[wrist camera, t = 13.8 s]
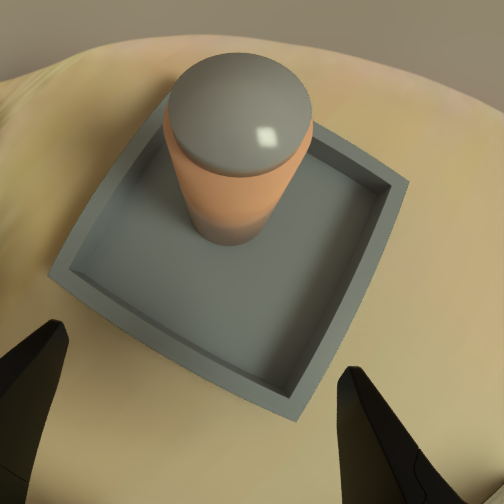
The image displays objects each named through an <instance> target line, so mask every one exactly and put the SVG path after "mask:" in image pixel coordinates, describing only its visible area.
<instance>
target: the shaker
mask: <svg viewBox="0 0 504 504" xmlns="http://www.w3.org/2000/svg"><path fill="white" fill-rule="evenodd" d="M163 130H164V136H165V139H166V143H167V146H168V149H169V152H170V156H171V159H172V162H173V165H174V169H175V172H176V175H177V178H178V181H179V184H180V187H181V191H182V194H183V197H184V200H185V203H186V206H187V209H188V212H189V215H190V218H191V221H192V223H193V225H194V227H195V229H196V230H197V231H198V233H199V234H200V235H201V236H203V237H204V238H205V239H207V240H208V241H210V242H212V243H214V244H217V245H222V246H237V245H241V244H244V243H247V242H248V241H250V240H252V239H253V238H255V237H256V236H257V235H258V234H259V233H260V232H261V231H262V229H263V228H264V226H265V224H266V222H267V221H268V219H269V217H270V215H271V214H272V212H273V210H274V208H275V207H276V205H277V203H278V201H279V200H280V198H281V196H282V194H283V193H284V191H285V189H286V187H287V185H288V184H289V182H290V180H291V178H292V177H293V175H294V173H295V171H296V170H297V168H298V166H299V164H300V163H301V161H302V159H303V157H304V156H305V154H306V152H307V150H308V148H309V145H310V143H311V139H312V134H313V120H312V107H311V102H310V98H309V95H308V93H307V90H306V89H305V87H304V85H303V84H302V82H301V81H300V80H299V79H298V78H297V76H296V75H295V74H294V73H292V72H291V71H290V70H289V69H287V68H286V67H285V66H283V65H281V64H280V63H278V62H276V61H274V60H271V59H269V58H266V57H263V56H259V55H255V54H249V53H226V54H220V55H216V56H212V57H209V58H206V59H204V60H202V61H200V62H198V63H196V64H195V65H193V66H192V67H190V68H189V69H188V70H186V71H185V72H184V73H183V74H182V75H181V76H180V77H179V79H178V80H177V81H176V83H175V85H174V86H173V88H172V91H171V93H170V96H169V101H168V103H167V106H166V109H165V112H164V117H163Z"/></svg>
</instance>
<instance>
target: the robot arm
mask: <svg viewBox="0 0 504 504" xmlns="http://www.w3.org/2000/svg"><path fill="white" fill-rule="evenodd" d="M68 344H69V338H68V335H67V332H66V329H65V326H64V324H63V322H61V321H58V320H54V319H51V320H49V321H48V322H46V323H45V324H44V325H42V326H41V327H40V328H38V329H37V330H36V331H34V332H33V333H32V334H31V335H29V336H28V337H27V338H25V339H24V340H23V341H22V342H20V343H19V344H18V345H16V346H15V347H14V348H13V349H11V350H10V351H9V352H8V353H6V354H5V355H4V356H3V357H1V358H0V504H25V501H26V496H27V491H28V486H29V484H28V483H29V481H30V477H31V473H32V469H33V465H34V461H35V457H36V453H37V449H38V446H39V442H40V439H41V435H42V432H43V429H44V425H45V422H46V419H47V416H48V413H49V410H50V407H51V404H52V401H53V398H54V395H55V392H56V389H57V386H58V383H59V379H60V375H61V371H62V367H63V363H64V359H65V355H66V352H67V348H68ZM337 438H338V449H339V461H340V475H341V490H342V504H468V503H466V502H465V501H464V500H462V499H461V498H460V497H459V496H458V494H457V493H456V492H455V491H454V490H453V489H452V488H451V487H450V485H449V484H448V483H447V482H446V481H445V480H444V479H443V478H442V476H441V475H440V474H439V473H438V472H437V471H436V469H435V468H434V467H433V466H432V464H431V463H430V462H429V460H428V459H427V458H426V456H425V455H424V454H423V452H422V451H421V449H418V448H419V447H418V445H417V444H416V442H415V441H414V440H413V438H412V437H411V435H410V434H409V433H408V431H407V430H406V428H405V427H404V426H403V424H402V423H401V422H400V420H399V419H398V417H397V416H396V415H395V413H394V412H393V410H392V409H391V408H390V406H389V405H388V404H387V402H386V401H385V399H384V398H383V397H382V395H381V394H380V393H379V391H378V390H377V388H376V387H375V386H374V384H373V383H372V382H371V380H370V379H369V378H368V376H367V375H366V373H365V372H364V371H363V369H362V368H361V367H358V366H349V367H347V368H346V369H345V371H344V373H343V374H342V376H341V377H340V378H339V380H338V384H337Z"/></svg>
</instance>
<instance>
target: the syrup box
mask: <svg viewBox="0 0 504 504" xmlns="http://www.w3.org/2000/svg"><path fill="white" fill-rule="evenodd" d="M483 504H504V485H502V486H501V487H500V488H499V489H498V490H497V491H496V492H495V493H494V494H493V495H492V496H491V497H490V498H489V499H488V500H486V501H485V502H484V503H483Z"/></svg>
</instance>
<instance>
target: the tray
mask: <svg viewBox="0 0 504 504" xmlns="http://www.w3.org/2000/svg"><path fill="white" fill-rule="evenodd" d="M171 91H172V90H171ZM171 91H170V92H169V93H168V95H167V96H166V97H165V98H164V99H163V100H162V102H161V103H160V104H159V105H158V106H157V108H156V109H155V110H154V111H153V112H152V114H151V115H150V116H149V117H148V119H147V120H146V121H145V122H144V124H143V125H142V126H141V128H140V129H139V130H138V131H137V133H136V134H135V135H134V137H133V138H132V139H131V141H130V142H129V143H128V145H127V146H126V147H125V149H124V150H123V152H122V153H121V154H120V156H119V157H118V159H117V160H116V161H115V163H114V164H113V166H112V167H111V169H110V170H109V172H108V173H107V174H106V176H105V177H104V179H103V180H102V182H101V183H100V185H99V186H98V188H97V190H96V191H95V193H94V194H93V196H92V197H91V199H90V201H89V202H88V204H87V205H86V207H85V209H84V210H83V212H82V214H81V215H80V217H79V219H78V220H77V222H76V224H75V225H74V227H73V229H72V230H71V232H70V234H69V236H68V238H67V239H66V241H65V243H64V245H63V247H62V248H61V250H60V252H59V254H58V256H57V258H56V260H55V262H54V264H53V265H52V267H51V269H50V271H49V273H48V275H47V276H48V277H50V278H51V279H52V280H53V281H55V282H56V283H57V284H59V285H60V286H61V287H62V288H64V289H65V290H66V291H68V292H69V293H70V294H72V295H73V296H74V297H76V298H77V299H78V300H80V301H81V302H83V303H84V304H85V305H87V306H88V307H90V308H91V309H92V310H94V311H95V312H97V313H98V314H99V315H101V316H102V317H104V318H105V319H107V320H108V321H110V322H111V323H113V324H114V325H116V326H117V327H119V328H120V329H122V330H123V331H125V332H126V333H128V334H129V335H131V336H132V337H134V338H136V339H137V340H139V341H140V342H142V343H143V344H145V345H147V346H148V347H150V348H152V349H153V350H155V351H157V352H158V353H160V354H162V355H163V356H165V357H167V358H168V359H170V360H172V361H173V362H175V363H177V364H179V365H180V366H182V367H184V368H186V369H188V370H189V371H191V372H193V373H195V374H197V375H198V376H200V377H202V378H204V379H206V380H208V381H210V382H211V383H213V384H215V385H217V386H219V387H221V388H223V389H225V390H227V391H229V392H231V393H233V394H235V395H237V396H239V397H241V398H243V399H245V400H247V401H249V402H251V403H254V404H256V405H258V406H260V407H262V408H264V409H267V410H269V411H271V412H273V413H275V414H278V415H280V416H282V417H285V418H287V419H289V420H292V421H294V422H297V420H298V419H299V417H300V415H301V414H302V412H303V410H304V409H305V407H306V405H307V404H308V402H309V400H310V399H311V397H312V395H313V393H314V392H315V390H316V388H317V386H318V385H319V383H320V381H321V379H322V378H323V376H324V374H325V372H326V370H327V369H328V367H329V365H330V363H331V361H332V359H333V357H334V356H335V354H336V352H337V350H338V348H339V346H340V344H341V342H342V340H343V338H344V336H345V334H346V332H347V330H348V328H349V326H350V324H351V322H352V320H353V318H354V316H355V314H356V312H357V310H358V308H359V306H360V303H361V301H362V299H363V297H364V295H365V293H366V290H367V288H368V286H369V284H370V281H371V279H372V277H373V275H374V272H375V270H376V268H377V265H378V263H379V261H380V258H381V256H382V254H383V251H384V249H385V246H386V244H387V241H388V239H389V236H390V234H391V231H392V229H393V226H394V223H395V221H396V218H397V215H398V213H399V210H400V207H401V205H402V202H403V199H404V196H405V193H406V190H407V188H408V185H409V181H408V180H406V179H405V178H404V177H402V176H401V175H399V174H398V173H396V172H395V171H393V170H392V169H390V168H389V167H388V166H386V165H385V164H383V163H382V162H380V161H378V160H377V159H375V158H374V157H372V156H371V155H369V154H368V153H366V152H365V151H363V150H361V149H360V148H358V147H357V146H355V145H353V144H352V143H350V142H348V141H347V140H345V139H343V138H342V137H340V136H338V135H337V134H335V133H333V132H332V131H330V130H328V129H326V128H325V127H323V126H321V125H319V124H317V123H316V122H314V121H313V134H312V139H311V143H310V145H309V148H308V150H307V152H306V154H305V156H304V157H303V159H302V161H301V163H300V164H299V166H298V168H297V170H296V171H295V173H294V175H293V177H292V178H291V180H290V182H289V184H288V185H287V187H286V189H285V191H284V193H283V194H282V196H281V198H280V200H279V201H278V203H277V205H276V207H275V208H274V210H273V212H272V214H271V215H270V217H269V219H268V221H267V222H266V224H265V226H264V228H263V229H262V231H261V232H260V233H259V234H258V235H257V236H256V237H255V238H253V239H252V240H250V241H248V242H247V243H244V244H241V245H237V246H222V245H217V244H214V243H212V242H210V241H208V240H207V239H205V238H204V237H203V236H201V235H200V234H199V233H198V231H197V230H196V229H195V227H194V225H193V223H192V221H191V218H190V215H189V212H188V209H187V206H186V203H185V200H184V197H183V194H182V191H181V187H180V184H179V181H178V178H177V175H176V172H175V169H174V165H173V162H172V159H171V156H170V152H169V149H168V146H167V143H166V139H165V136H164V130H163V117H164V112H165V109H166V106H167V103H168V101H169V96H170V93H171Z"/></svg>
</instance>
